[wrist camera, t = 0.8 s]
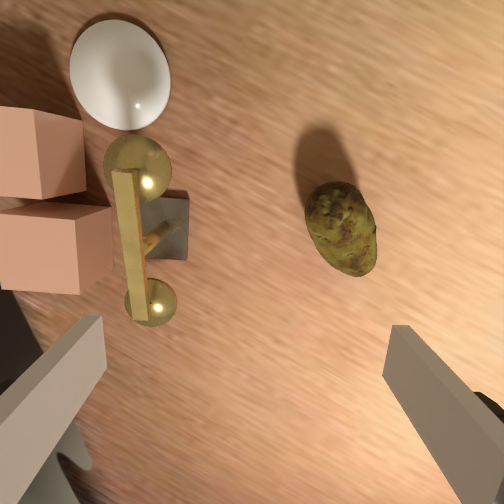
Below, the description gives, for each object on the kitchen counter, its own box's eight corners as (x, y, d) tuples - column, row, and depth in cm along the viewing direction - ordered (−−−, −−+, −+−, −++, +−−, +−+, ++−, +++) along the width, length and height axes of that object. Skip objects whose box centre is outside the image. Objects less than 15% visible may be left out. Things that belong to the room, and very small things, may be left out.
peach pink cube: (45, 201, 40) (-10, 213, 31) (111, 206, 40) (74, 220, 31) (51, 262, 42) (1, 289, 33) (113, 267, 42) (79, 294, 34)
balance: (141, 139, 38) (80, 127, 24) (191, 143, 38) (159, 134, 24) (143, 300, 44) (95, 366, 30) (185, 303, 44) (158, 370, 30)
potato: (309, 277, 43) (322, 302, 36) (294, 184, 40) (306, 190, 32) (368, 265, 43) (395, 288, 35) (359, 171, 39) (387, 174, 32)
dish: (70, 18, 34) (65, 14, 33) (172, 29, 35) (170, 25, 34) (77, 125, 37) (73, 124, 36) (170, 134, 38) (168, 134, 37)
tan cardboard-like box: (11, 113, 37) (-61, 100, 28) (82, 120, 37) (33, 109, 28) (19, 184, 39) (-45, 192, 30) (86, 190, 39) (42, 199, 31)
